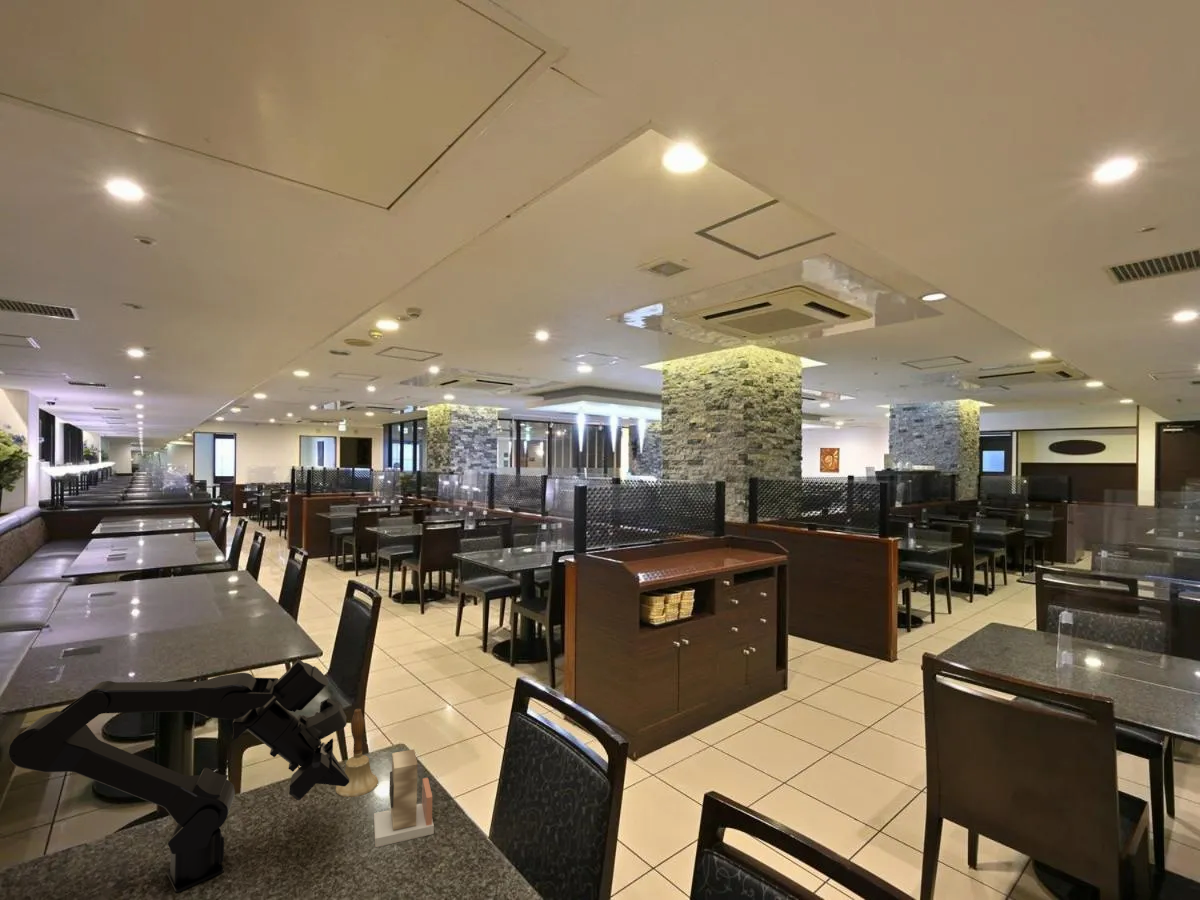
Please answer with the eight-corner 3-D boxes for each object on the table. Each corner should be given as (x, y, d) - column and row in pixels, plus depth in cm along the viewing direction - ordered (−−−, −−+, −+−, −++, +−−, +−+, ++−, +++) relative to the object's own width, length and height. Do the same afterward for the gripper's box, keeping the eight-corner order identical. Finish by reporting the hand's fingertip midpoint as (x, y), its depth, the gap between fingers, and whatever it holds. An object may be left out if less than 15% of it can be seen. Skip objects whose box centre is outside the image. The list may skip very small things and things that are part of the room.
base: (375, 847, 102) (376, 810, 102) (373, 821, 109) (374, 786, 110) (433, 833, 106) (434, 797, 106) (428, 809, 113) (429, 776, 114)
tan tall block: (390, 830, 104) (392, 769, 104) (388, 812, 110) (390, 753, 110) (416, 825, 106) (417, 764, 106) (413, 806, 111) (414, 749, 112)
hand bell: (363, 799, 116) (364, 719, 117) (326, 794, 118) (328, 715, 118) (386, 777, 125) (387, 703, 125) (351, 773, 126) (353, 699, 127)
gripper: (315, 714, 94) (385, 771, 98) (321, 674, 111) (380, 724, 115) (257, 772, 91) (331, 828, 95) (272, 722, 108) (335, 771, 112)
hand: (347, 783), depth 104 cm, fingers closed
